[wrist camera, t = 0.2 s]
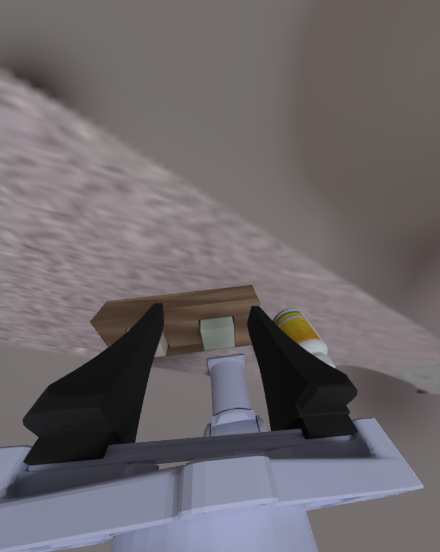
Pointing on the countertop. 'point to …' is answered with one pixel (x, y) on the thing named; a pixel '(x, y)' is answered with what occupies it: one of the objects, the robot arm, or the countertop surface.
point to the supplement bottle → (303, 333)
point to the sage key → (217, 333)
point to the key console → (180, 316)
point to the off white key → (161, 346)
